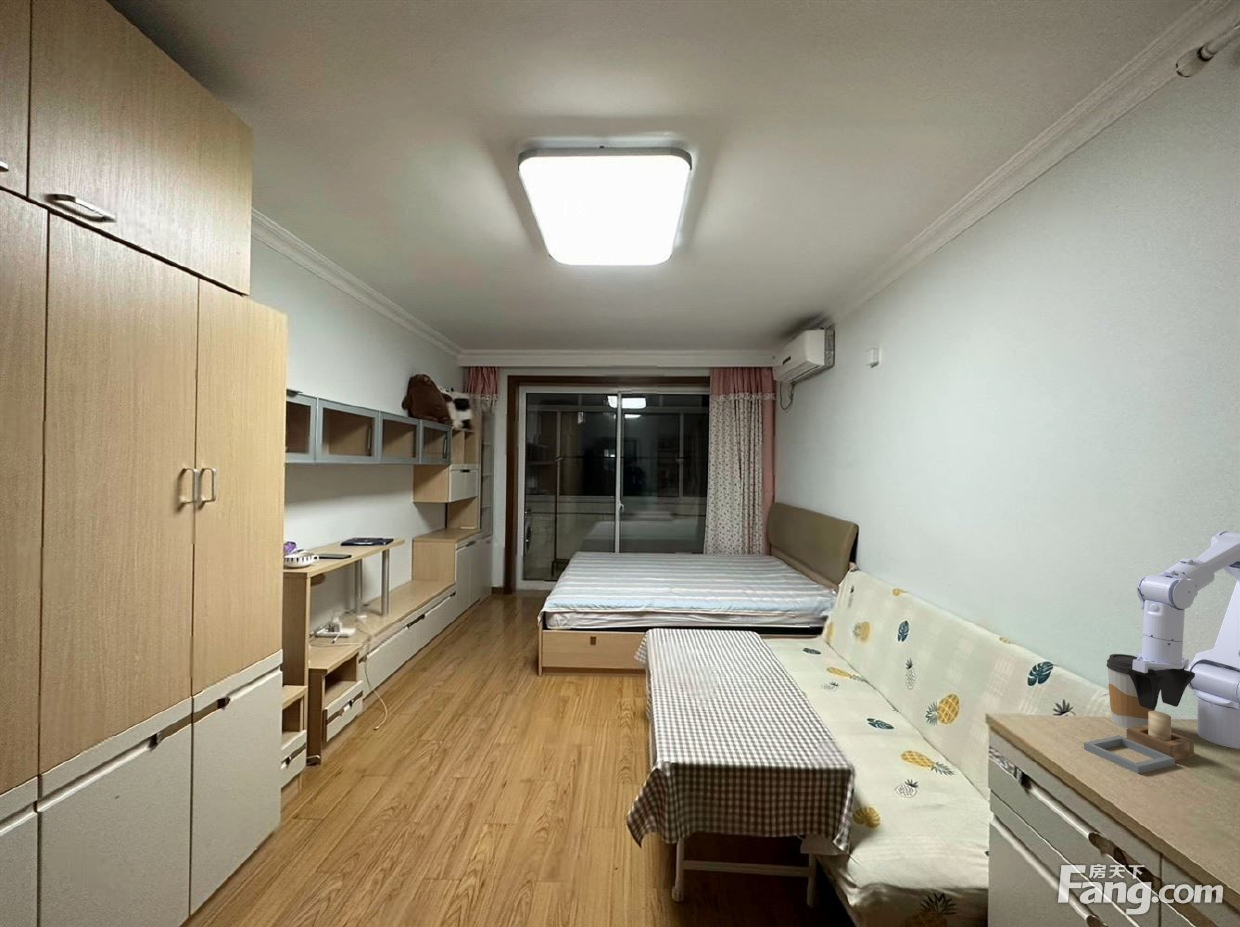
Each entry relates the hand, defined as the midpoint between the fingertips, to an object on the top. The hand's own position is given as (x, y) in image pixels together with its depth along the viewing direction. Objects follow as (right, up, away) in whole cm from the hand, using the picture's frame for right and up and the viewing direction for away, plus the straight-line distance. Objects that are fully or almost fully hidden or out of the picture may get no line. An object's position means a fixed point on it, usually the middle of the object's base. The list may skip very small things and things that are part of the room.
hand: (1158, 706), depth 109 cm
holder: (0, -10, 0) cm, 10 cm away
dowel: (0, -9, 0) cm, 9 cm away
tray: (-8, -10, -2) cm, 13 cm away
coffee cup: (+5, -10, +11) cm, 15 cm away
